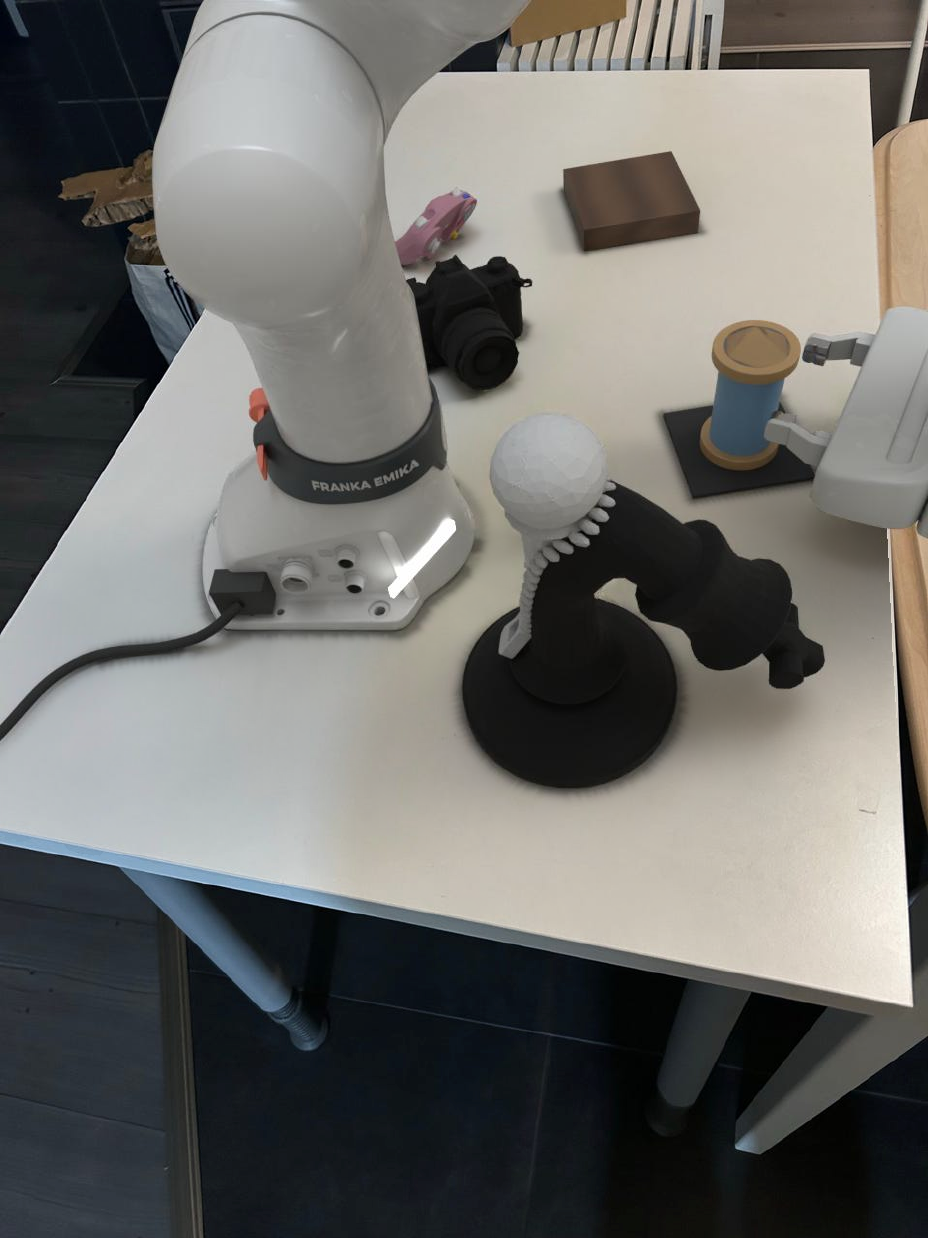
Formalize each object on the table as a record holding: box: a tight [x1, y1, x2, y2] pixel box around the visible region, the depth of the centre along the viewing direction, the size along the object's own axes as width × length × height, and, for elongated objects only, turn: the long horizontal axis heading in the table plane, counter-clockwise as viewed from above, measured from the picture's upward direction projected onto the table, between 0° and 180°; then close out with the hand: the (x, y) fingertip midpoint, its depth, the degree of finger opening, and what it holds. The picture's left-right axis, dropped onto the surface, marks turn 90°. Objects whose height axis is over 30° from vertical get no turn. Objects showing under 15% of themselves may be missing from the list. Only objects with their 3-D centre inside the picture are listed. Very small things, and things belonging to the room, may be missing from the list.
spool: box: [700, 319, 802, 471], centre depth 73 cm, size 6×6×10 cm
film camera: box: [406, 254, 533, 391], centre depth 84 cm, size 15×10×9 cm, turn 113°
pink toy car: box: [395, 186, 478, 266], centre depth 97 cm, size 10×5×7 cm, turn 143°
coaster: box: [662, 401, 816, 500], centre depth 77 cm, size 10×10×1 cm
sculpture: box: [461, 412, 826, 789], centre depth 55 cm, size 15×24×25 cm, turn 82°
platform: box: [562, 150, 701, 252], centre depth 98 cm, size 12×12×2 cm
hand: (787, 384), depth 71 cm, fingers open, 8 cm apart
